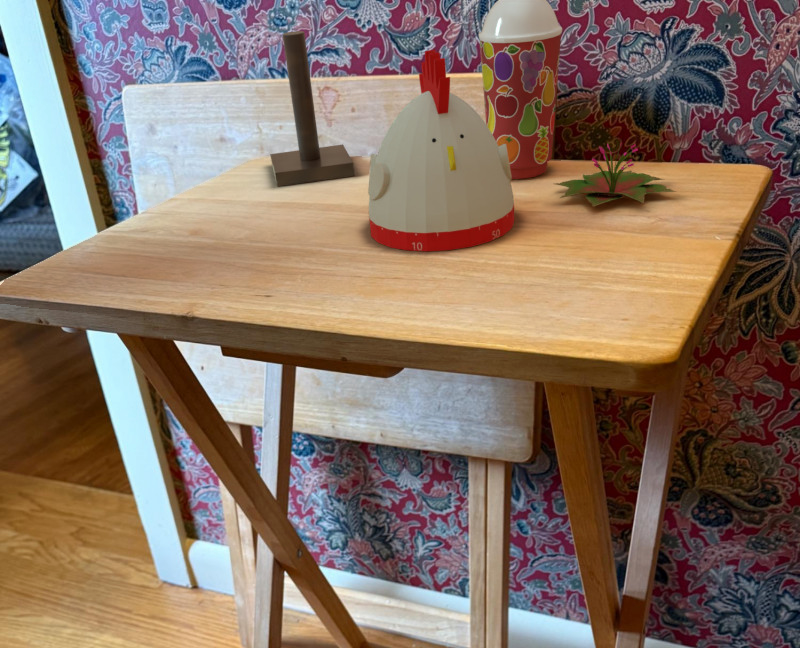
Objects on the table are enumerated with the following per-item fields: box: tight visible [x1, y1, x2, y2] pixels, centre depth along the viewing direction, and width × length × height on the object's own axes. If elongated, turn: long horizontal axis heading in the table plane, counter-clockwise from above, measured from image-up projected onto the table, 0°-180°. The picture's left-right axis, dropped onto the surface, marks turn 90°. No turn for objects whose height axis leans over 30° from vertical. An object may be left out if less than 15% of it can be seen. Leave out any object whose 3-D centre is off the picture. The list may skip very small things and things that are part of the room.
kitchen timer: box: [367, 49, 515, 252], centre depth 81 cm, size 14×14×15 cm
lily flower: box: [554, 141, 678, 207], centre depth 88 cm, size 12×12×5 cm
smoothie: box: [477, 0, 563, 180], centre depth 92 cm, size 8×8×20 cm
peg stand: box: [269, 30, 356, 187], centre depth 101 cm, size 9×9×14 cm
